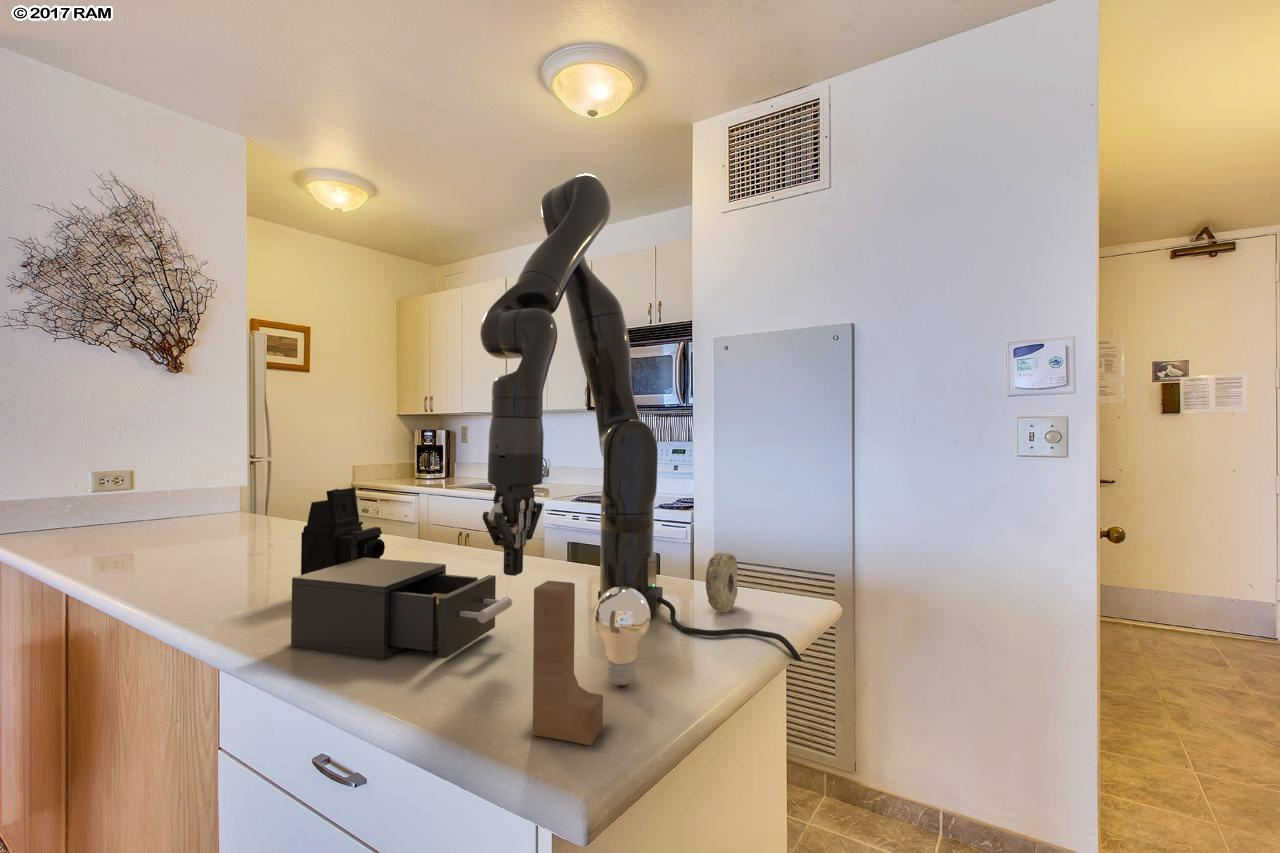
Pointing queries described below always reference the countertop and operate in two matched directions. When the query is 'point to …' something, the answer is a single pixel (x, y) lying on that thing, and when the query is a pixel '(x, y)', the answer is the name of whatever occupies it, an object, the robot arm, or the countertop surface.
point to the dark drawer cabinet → (351, 605)
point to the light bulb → (622, 630)
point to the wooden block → (560, 671)
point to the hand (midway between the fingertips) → (512, 574)
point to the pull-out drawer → (443, 612)
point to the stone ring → (722, 581)
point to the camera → (337, 533)
